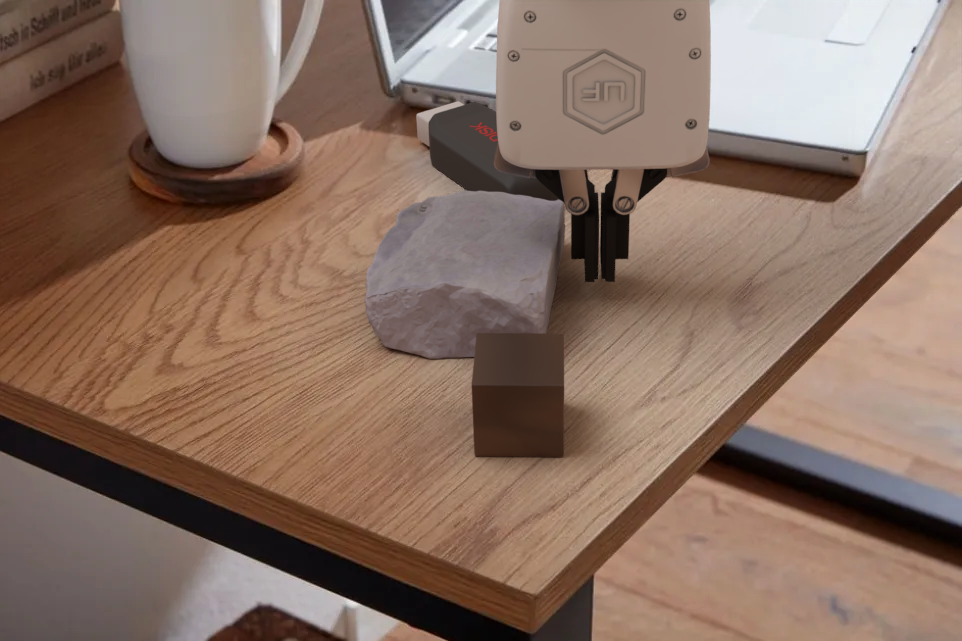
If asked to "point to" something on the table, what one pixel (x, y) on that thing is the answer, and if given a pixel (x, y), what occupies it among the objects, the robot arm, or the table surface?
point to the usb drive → (471, 150)
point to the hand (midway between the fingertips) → (599, 267)
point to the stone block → (465, 271)
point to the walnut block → (518, 394)
